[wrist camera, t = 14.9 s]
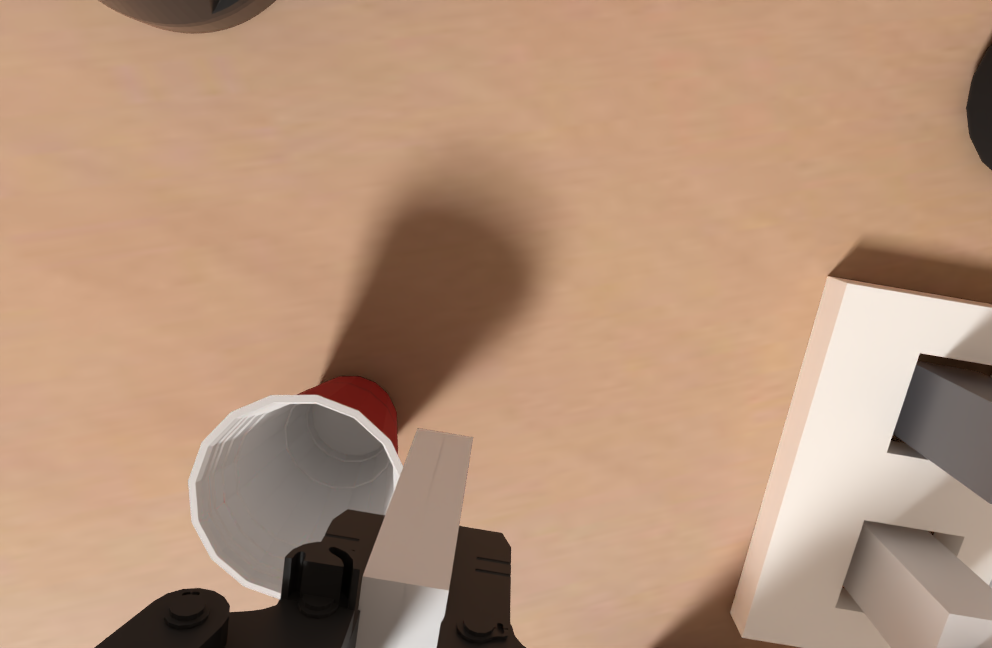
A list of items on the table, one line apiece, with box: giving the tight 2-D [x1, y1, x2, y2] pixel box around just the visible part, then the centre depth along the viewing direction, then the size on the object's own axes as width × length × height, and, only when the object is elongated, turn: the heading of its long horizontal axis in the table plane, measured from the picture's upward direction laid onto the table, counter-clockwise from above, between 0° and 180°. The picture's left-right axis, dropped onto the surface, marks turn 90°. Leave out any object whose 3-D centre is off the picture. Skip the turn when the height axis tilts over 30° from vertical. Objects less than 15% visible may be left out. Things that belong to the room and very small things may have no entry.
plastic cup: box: [188, 376, 403, 599], centre depth 38 cm, size 11×11×12 cm
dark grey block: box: [893, 361, 992, 504], centre depth 37 cm, size 5×5×10 cm
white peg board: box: [730, 276, 992, 648], centre depth 38 cm, size 24×17×12 cm
